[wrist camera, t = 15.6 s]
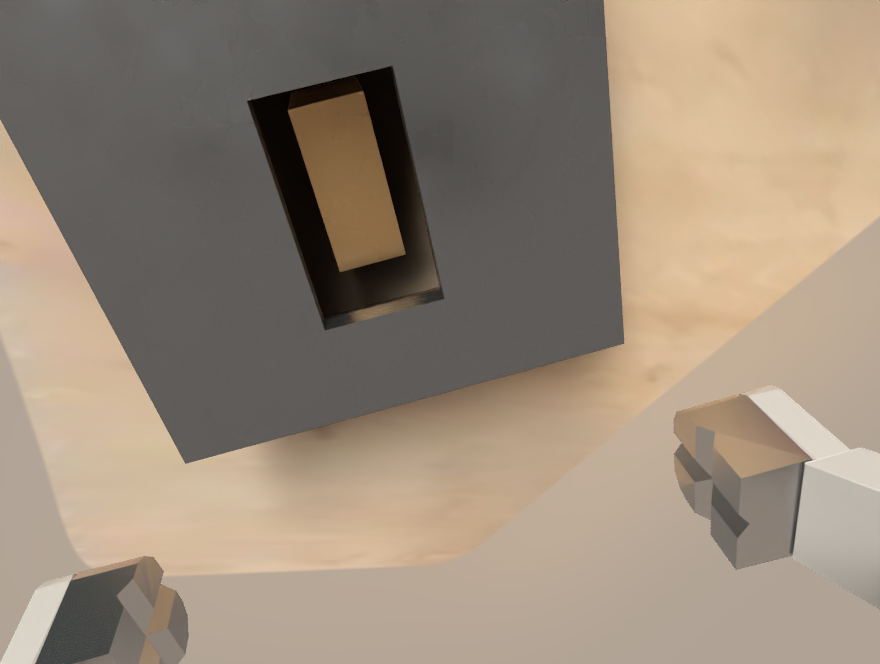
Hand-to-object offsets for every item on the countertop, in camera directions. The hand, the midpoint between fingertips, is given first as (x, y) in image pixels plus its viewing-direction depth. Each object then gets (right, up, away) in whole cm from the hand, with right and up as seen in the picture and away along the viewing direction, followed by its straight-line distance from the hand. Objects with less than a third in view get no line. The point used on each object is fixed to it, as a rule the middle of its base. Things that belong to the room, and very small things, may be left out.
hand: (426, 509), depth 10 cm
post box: (-4, +11, +20) cm, 24 cm away
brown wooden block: (-4, +11, +21) cm, 24 cm away
